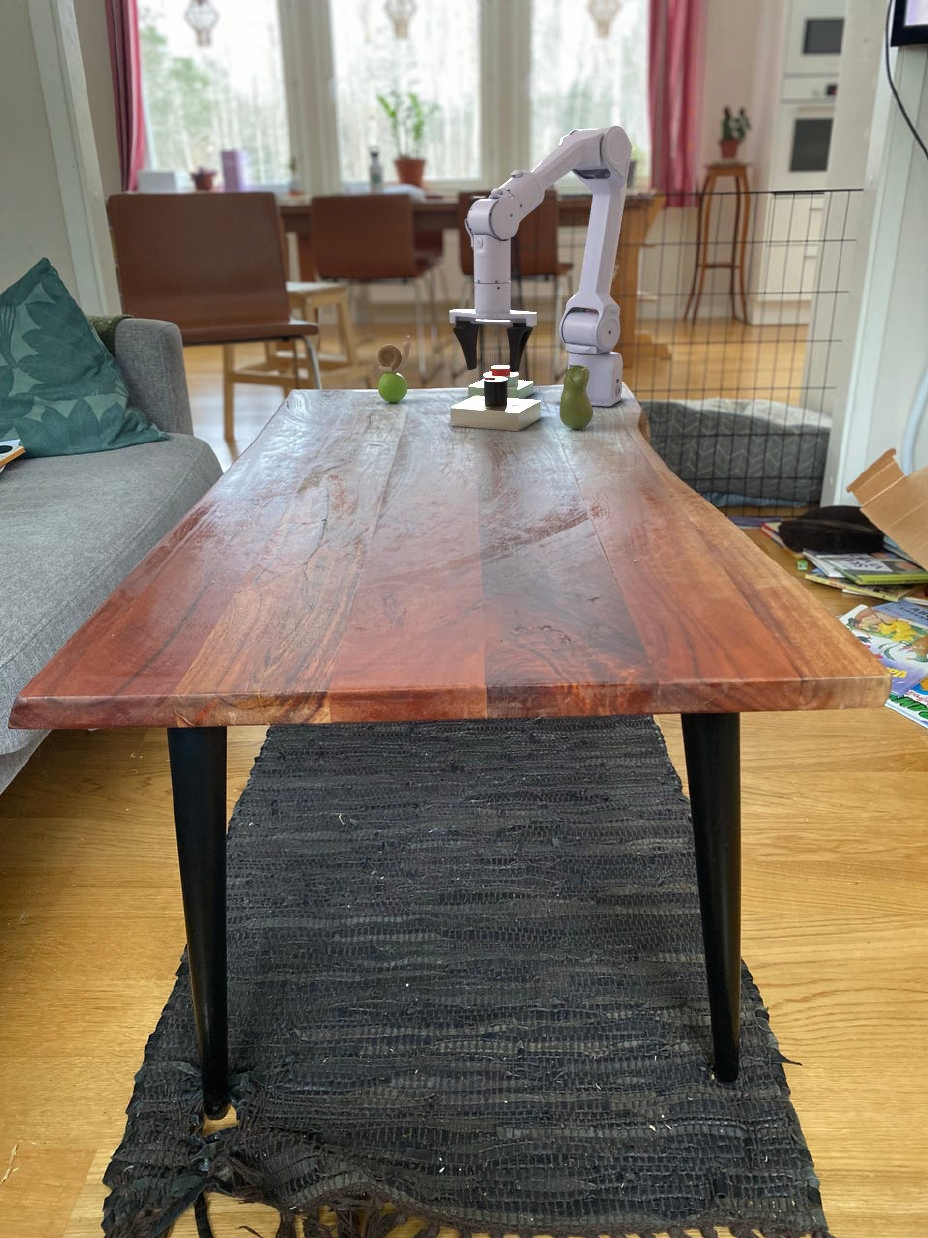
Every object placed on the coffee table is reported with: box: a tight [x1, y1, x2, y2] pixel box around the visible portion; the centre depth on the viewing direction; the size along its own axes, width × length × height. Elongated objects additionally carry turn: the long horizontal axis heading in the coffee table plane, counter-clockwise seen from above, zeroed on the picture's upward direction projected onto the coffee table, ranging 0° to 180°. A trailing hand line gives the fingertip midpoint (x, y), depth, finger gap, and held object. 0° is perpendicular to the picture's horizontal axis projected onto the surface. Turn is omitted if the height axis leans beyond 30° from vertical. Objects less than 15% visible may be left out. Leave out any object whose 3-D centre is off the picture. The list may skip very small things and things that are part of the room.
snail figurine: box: [377, 334, 411, 404], centre depth 170 cm, size 5×6×12 cm
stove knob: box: [482, 376, 508, 406], centre depth 154 cm, size 4×4×4 cm
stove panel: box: [449, 396, 541, 432], centre depth 155 cm, size 12×10×3 cm
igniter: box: [467, 371, 534, 399], centre depth 176 cm, size 10×8×4 cm
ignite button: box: [490, 364, 511, 376], centre depth 175 cm, size 4×4×2 cm
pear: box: [559, 365, 594, 430], centre depth 148 cm, size 6×5×10 cm
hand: (493, 370), depth 153 cm, fingers open, 7 cm apart
